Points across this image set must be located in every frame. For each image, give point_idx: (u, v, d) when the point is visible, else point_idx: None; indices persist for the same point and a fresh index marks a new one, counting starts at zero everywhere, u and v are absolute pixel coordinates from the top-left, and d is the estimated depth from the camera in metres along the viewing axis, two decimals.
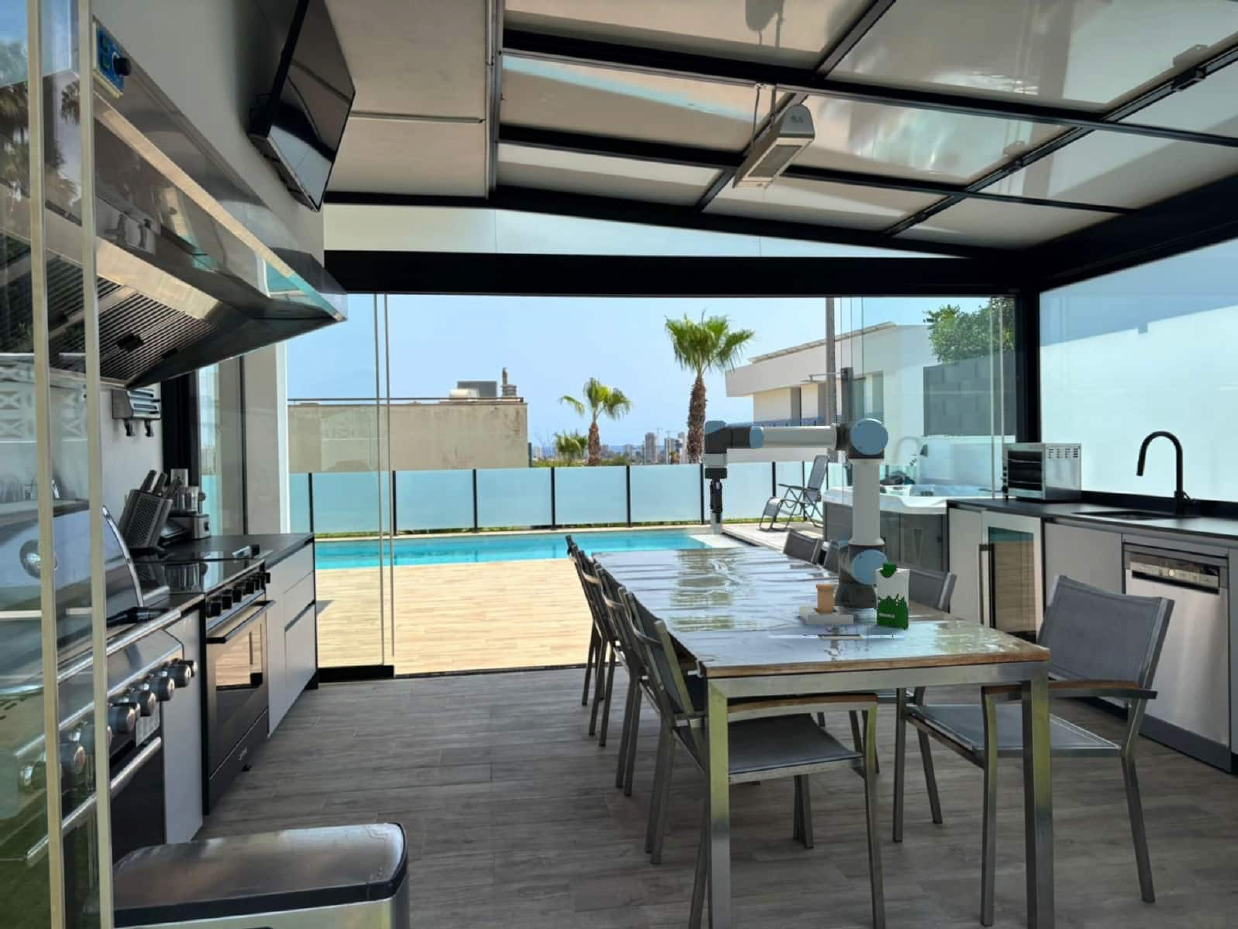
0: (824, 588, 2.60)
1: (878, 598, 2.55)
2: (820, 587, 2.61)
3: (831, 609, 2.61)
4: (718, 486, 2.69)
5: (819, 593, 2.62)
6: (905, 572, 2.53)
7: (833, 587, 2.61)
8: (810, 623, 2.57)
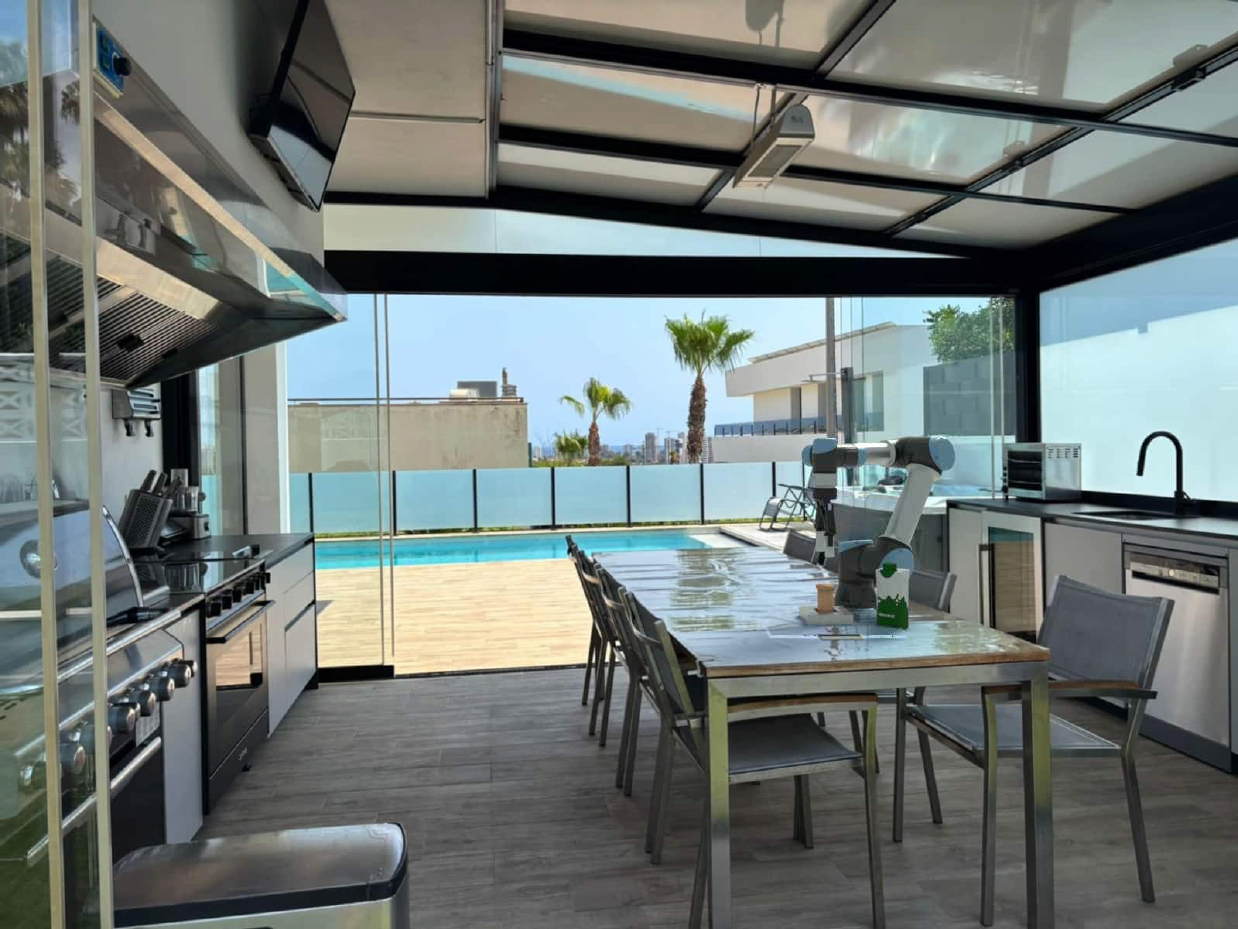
0: (824, 588, 2.60)
1: (878, 598, 2.55)
2: (820, 587, 2.61)
3: (831, 609, 2.61)
4: (830, 507, 2.56)
5: (819, 593, 2.62)
6: (905, 572, 2.53)
7: (833, 587, 2.61)
8: (810, 623, 2.57)
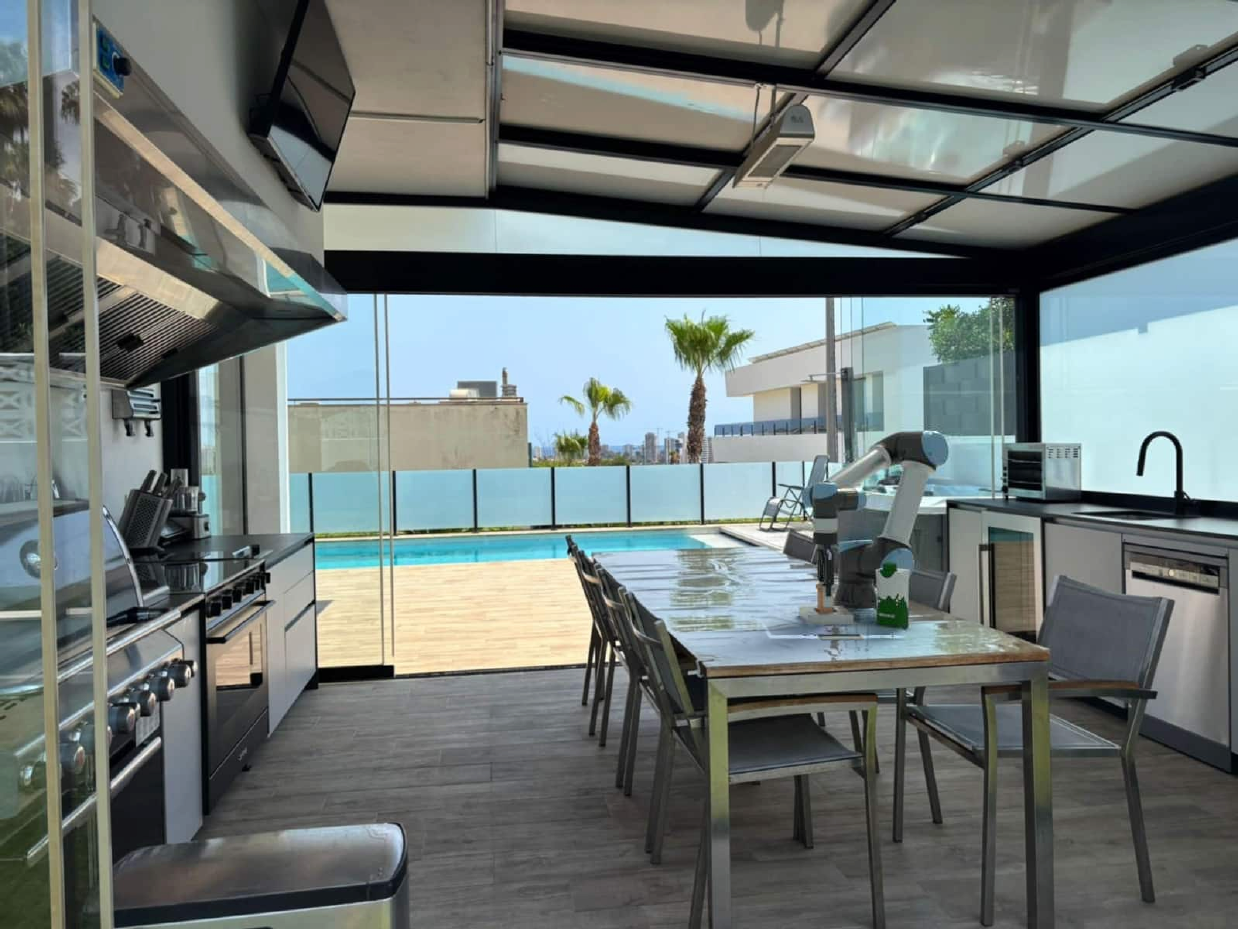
0: None
1: (878, 598, 2.55)
2: (820, 587, 2.61)
3: (831, 609, 2.61)
4: (830, 558, 2.56)
5: (819, 593, 2.62)
6: (905, 572, 2.53)
7: (833, 587, 2.61)
8: (810, 623, 2.57)
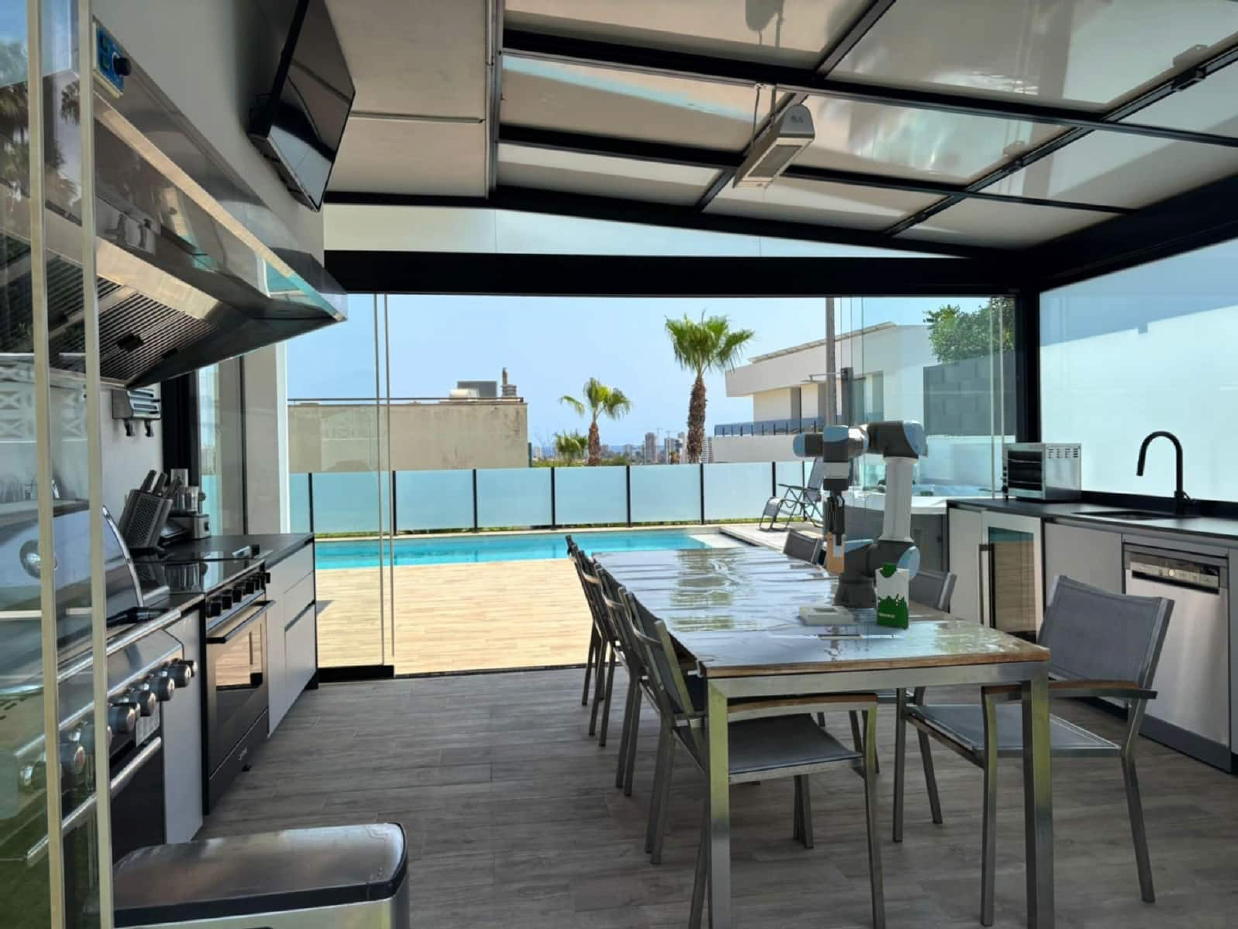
0: None
1: (878, 598, 2.55)
2: (829, 536, 2.45)
3: (841, 560, 2.45)
4: (841, 504, 2.40)
5: (828, 543, 2.46)
6: (905, 572, 2.53)
7: (843, 536, 2.45)
8: (810, 623, 2.57)
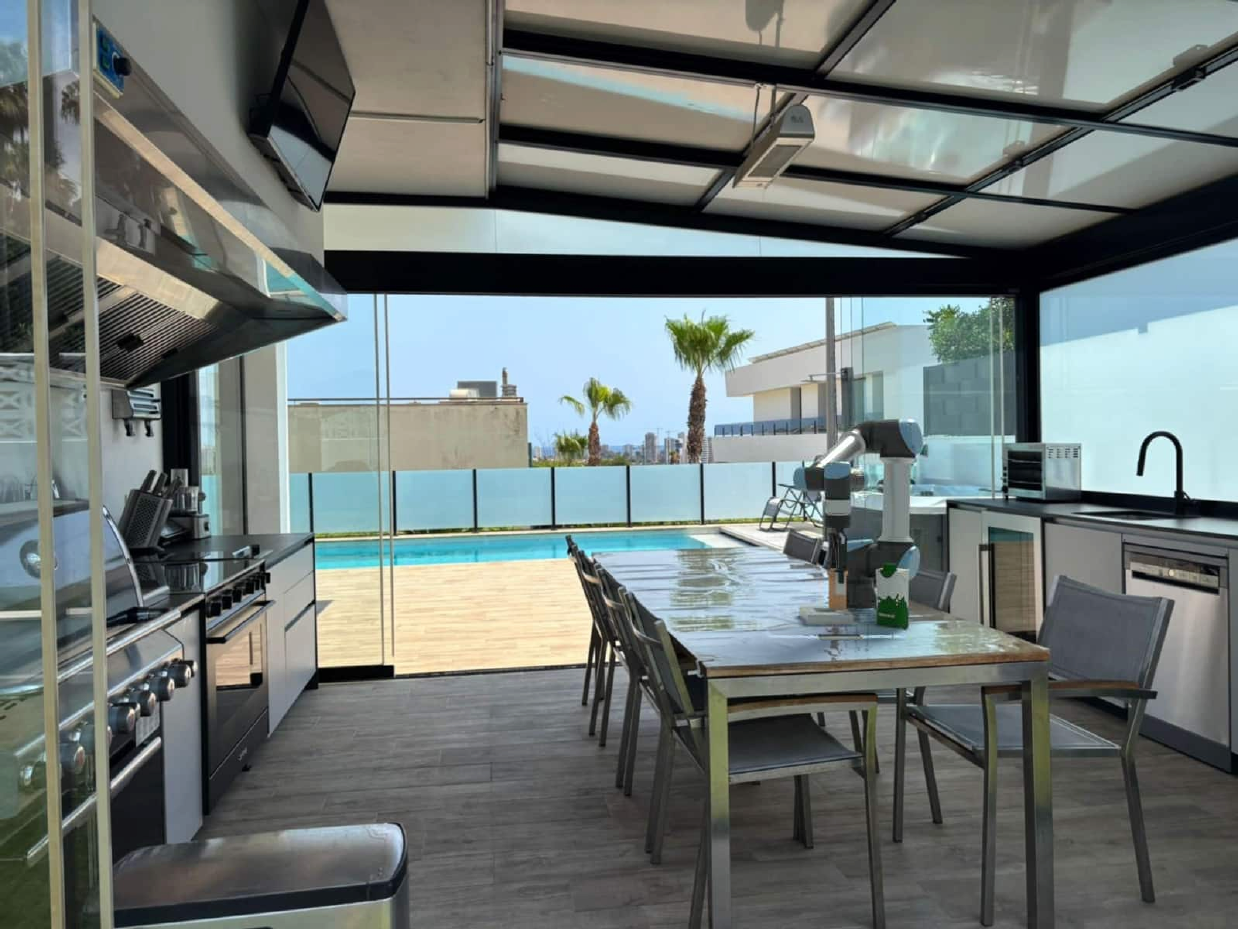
0: None
1: (878, 598, 2.55)
2: (832, 573, 2.44)
3: (843, 597, 2.44)
4: (843, 542, 2.39)
5: (831, 580, 2.45)
6: (905, 572, 2.53)
7: (846, 573, 2.44)
8: (810, 623, 2.57)
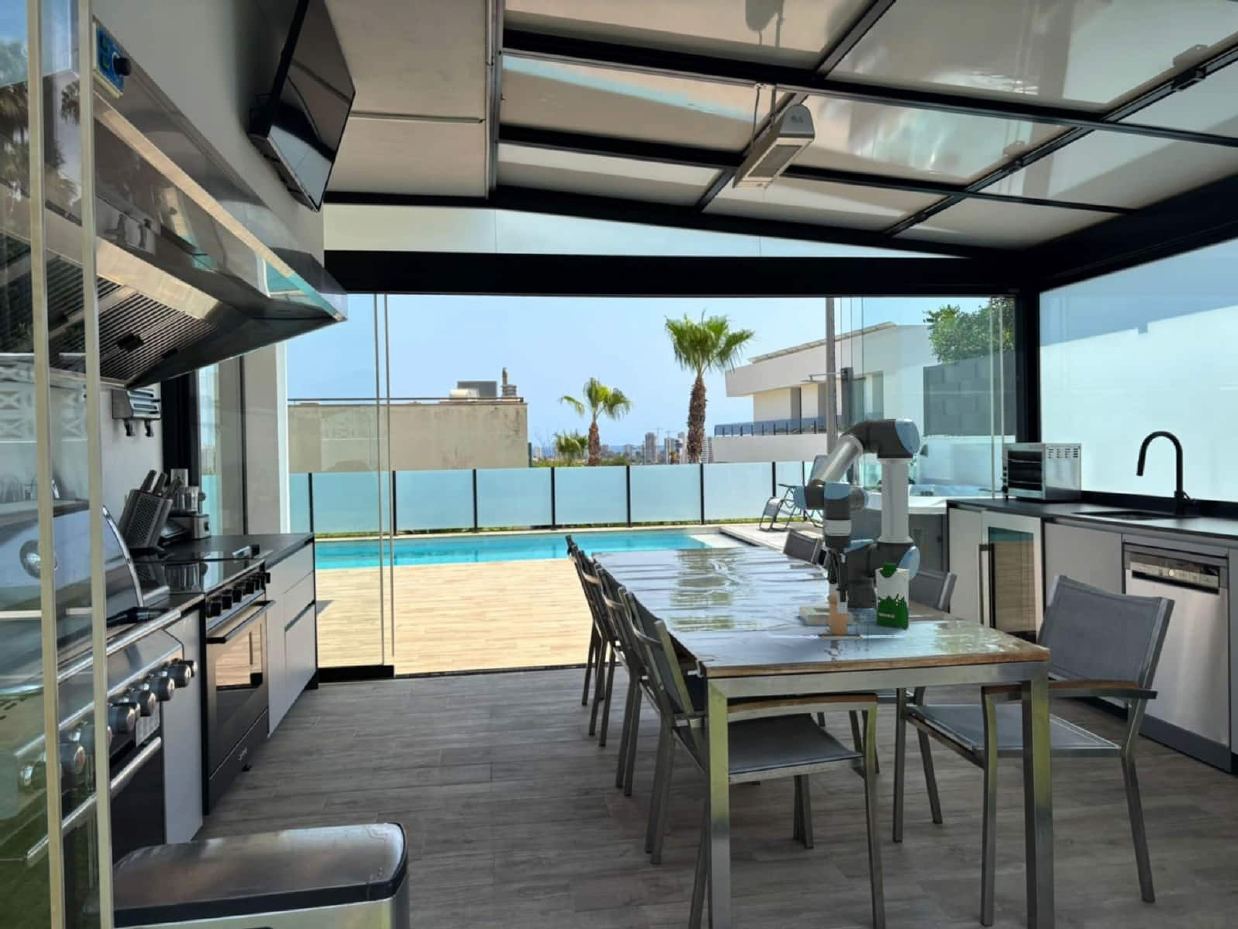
0: (836, 600, 2.43)
1: (878, 598, 2.55)
2: (832, 599, 2.44)
3: (844, 623, 2.44)
4: (844, 560, 2.39)
5: (831, 605, 2.45)
6: (905, 572, 2.53)
7: None
8: (810, 623, 2.57)
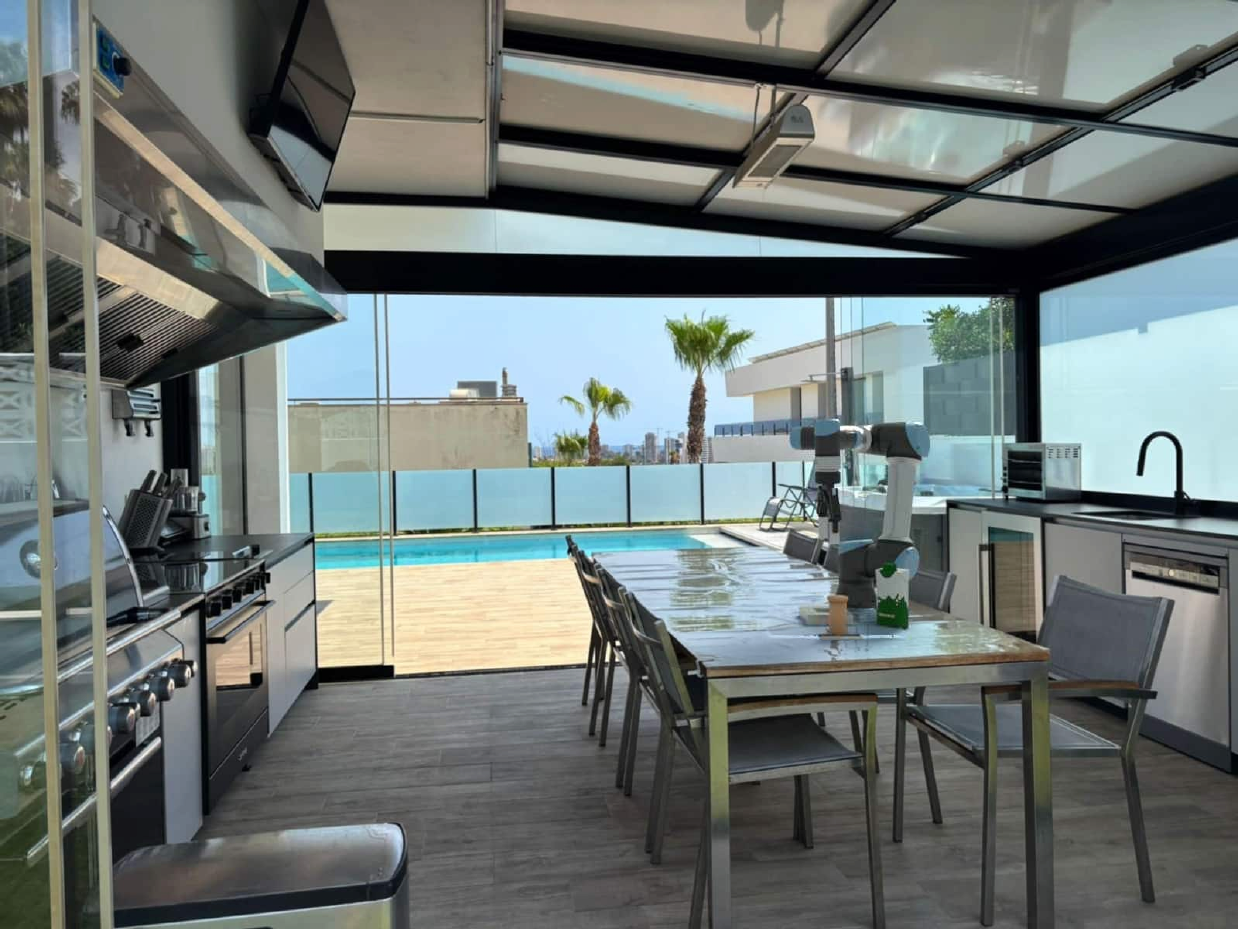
0: (836, 600, 2.43)
1: (878, 598, 2.55)
2: (832, 599, 2.44)
3: (844, 623, 2.44)
4: (834, 492, 2.44)
5: (831, 605, 2.45)
6: (905, 572, 2.53)
7: (846, 599, 2.44)
8: (810, 623, 2.57)
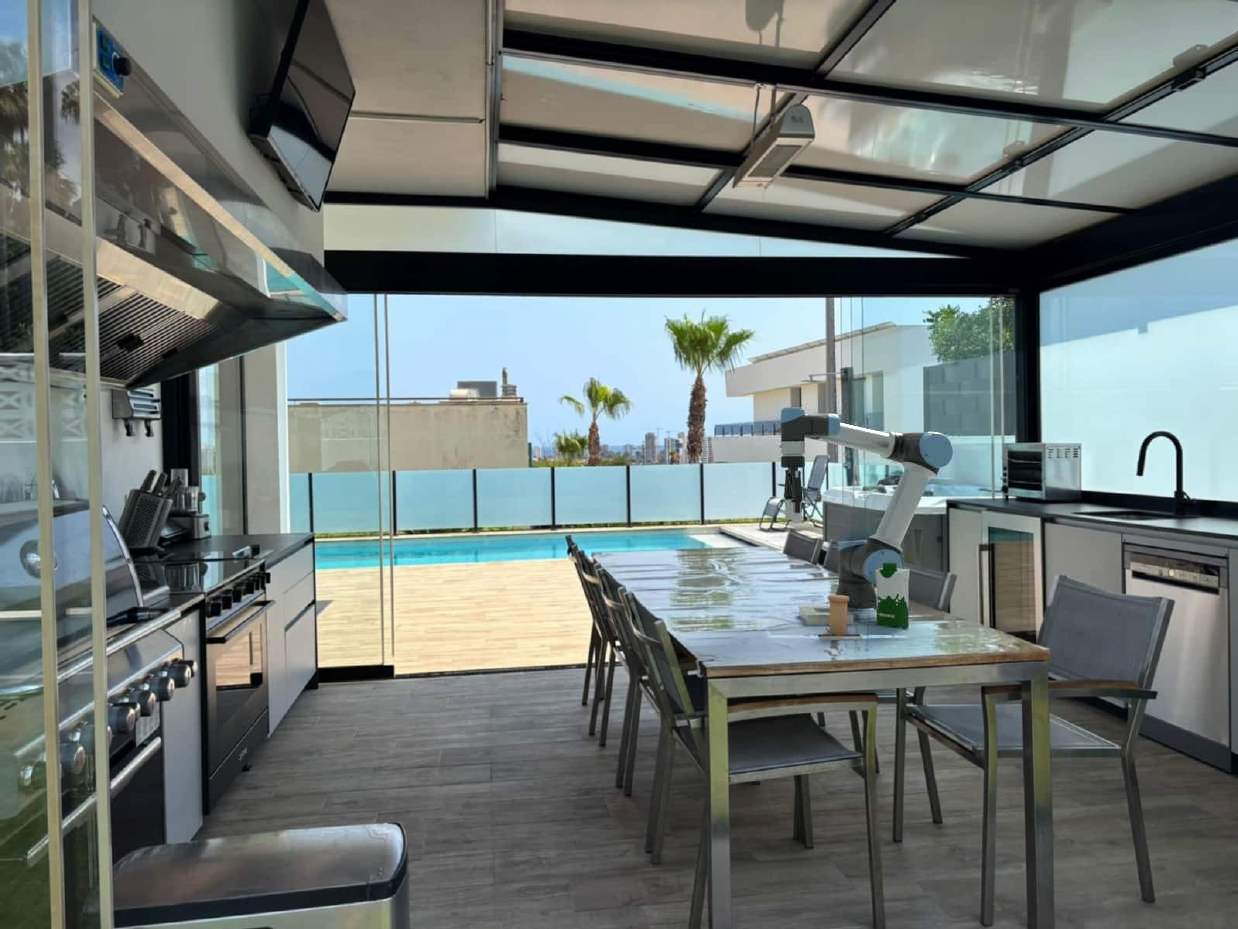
0: (837, 600, 2.43)
1: (878, 598, 2.55)
2: (833, 599, 2.44)
3: (844, 623, 2.44)
4: (797, 475, 2.62)
5: (832, 605, 2.45)
6: (905, 572, 2.53)
7: (847, 599, 2.44)
8: (810, 623, 2.57)
